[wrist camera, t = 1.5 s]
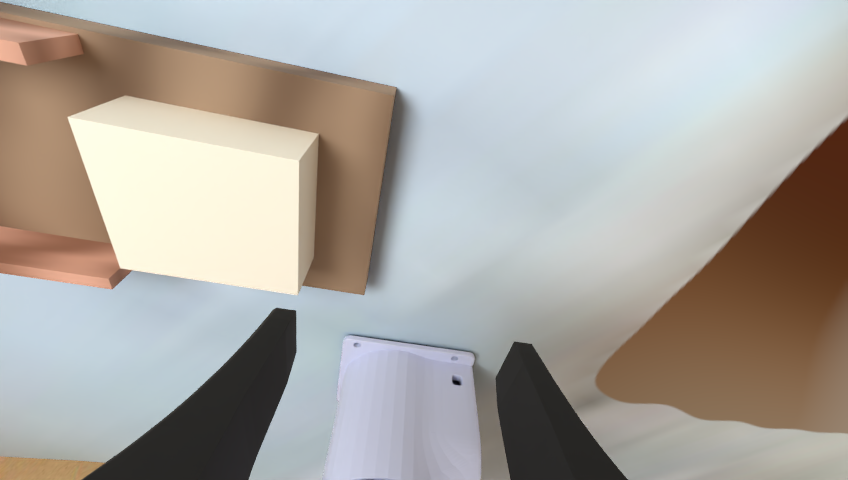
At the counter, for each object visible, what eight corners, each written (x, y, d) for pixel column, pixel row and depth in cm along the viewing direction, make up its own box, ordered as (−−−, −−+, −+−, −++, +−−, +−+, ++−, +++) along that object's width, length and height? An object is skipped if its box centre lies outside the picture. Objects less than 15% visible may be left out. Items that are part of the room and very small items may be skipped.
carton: (318, 133, 16) (298, 160, 14) (313, 257, 20) (297, 295, 18) (125, 95, 15) (67, 117, 13) (159, 231, 19) (120, 268, 17)
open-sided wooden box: (396, 87, 16) (388, 113, 13) (367, 278, 23) (357, 327, 20) (-168, -35, 14) (-347, -40, 11) (-23, 216, 21) (-109, 260, 17)
